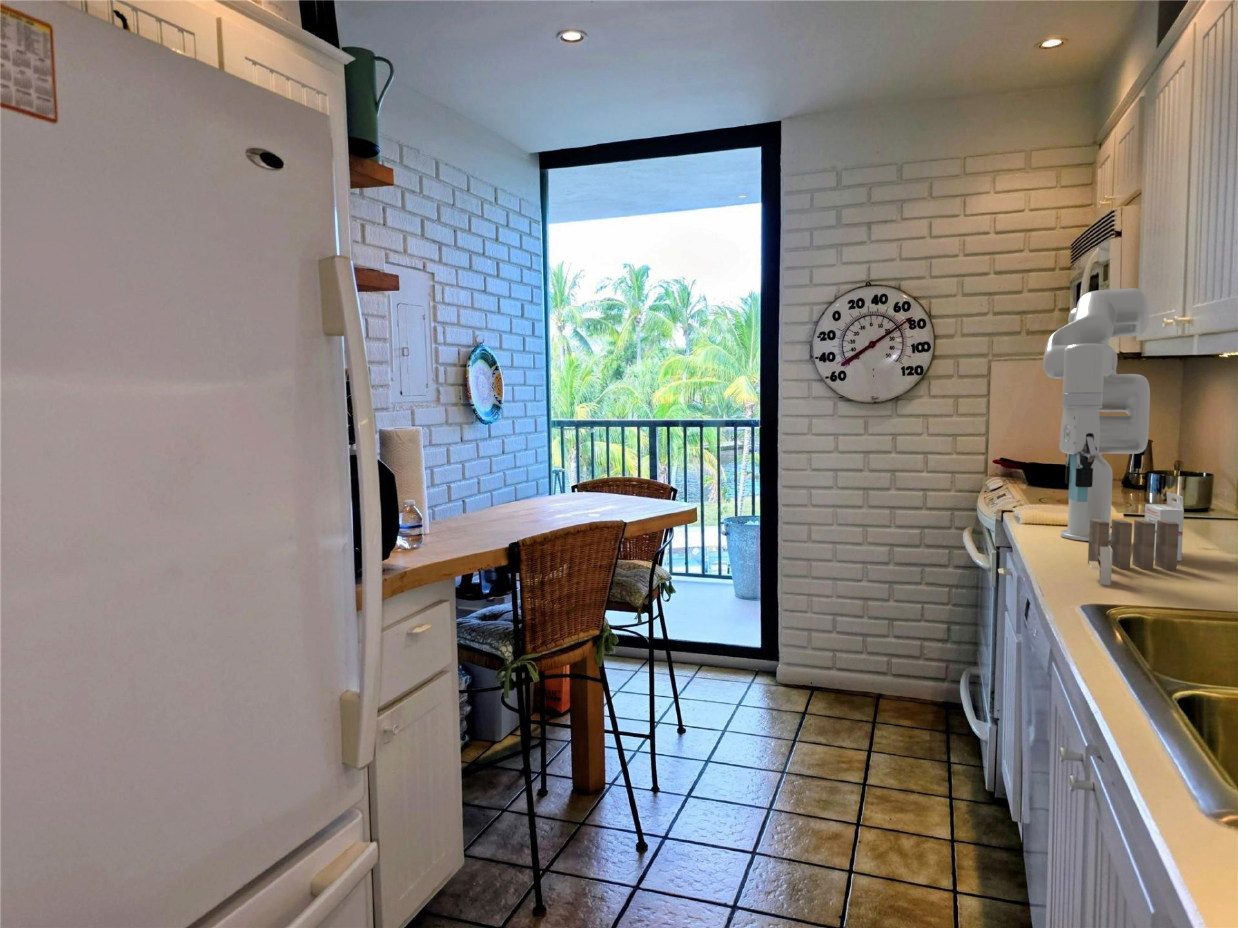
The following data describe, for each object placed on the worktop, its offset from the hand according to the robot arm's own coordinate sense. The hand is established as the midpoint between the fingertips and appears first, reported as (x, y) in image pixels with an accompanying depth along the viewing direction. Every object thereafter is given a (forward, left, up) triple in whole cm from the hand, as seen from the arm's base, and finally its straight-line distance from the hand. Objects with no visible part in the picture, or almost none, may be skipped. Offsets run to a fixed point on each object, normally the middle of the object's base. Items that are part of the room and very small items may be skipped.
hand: (1078, 484), depth 175 cm
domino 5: (0, +18, -18) cm, 25 cm away
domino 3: (0, +9, -18) cm, 20 cm away
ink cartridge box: (-12, +23, -18) cm, 31 cm away
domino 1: (0, 0, -3) cm, 3 cm away
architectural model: (+15, 0, -19) cm, 24 cm away
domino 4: (0, +14, -18) cm, 22 cm away
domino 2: (0, +5, -18) cm, 18 cm away
